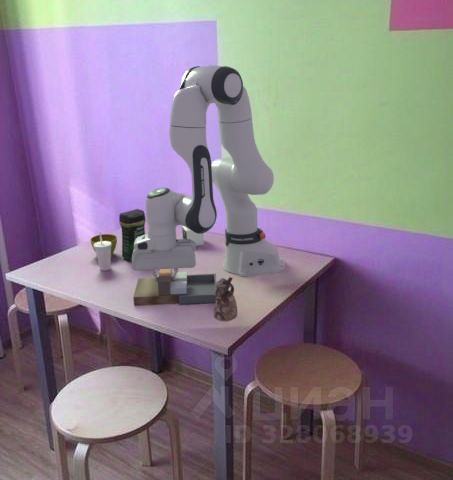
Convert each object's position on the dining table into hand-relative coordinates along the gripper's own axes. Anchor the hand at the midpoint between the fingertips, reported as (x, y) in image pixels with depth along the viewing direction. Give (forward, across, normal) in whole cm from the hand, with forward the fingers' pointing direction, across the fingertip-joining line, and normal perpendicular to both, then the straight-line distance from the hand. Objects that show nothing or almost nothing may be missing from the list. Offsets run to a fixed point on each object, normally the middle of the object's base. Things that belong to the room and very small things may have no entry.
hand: (165, 280), depth 168 cm
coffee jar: (+5, +14, -34) cm, 37 cm away
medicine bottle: (+5, -8, -46) cm, 47 cm away
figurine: (+5, -18, +16) cm, 25 cm away
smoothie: (+5, +24, -24) cm, 34 cm away
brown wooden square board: (+5, +3, 0) cm, 6 cm away
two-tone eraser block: (+2, 0, 0) cm, 2 cm away
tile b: (+2, -4, +4) cm, 6 cm away
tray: (+5, -10, 0) cm, 11 cm away
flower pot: (+5, +26, -37) cm, 45 cm away
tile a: (+2, -4, -4) cm, 6 cm away
